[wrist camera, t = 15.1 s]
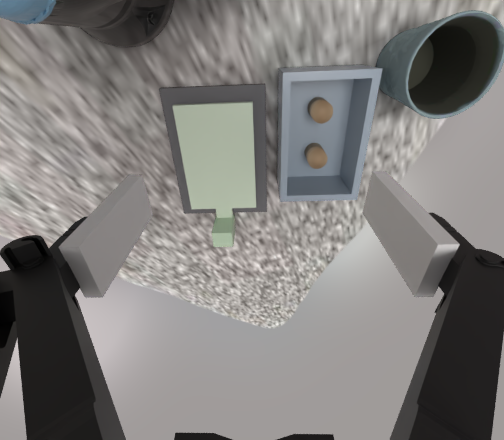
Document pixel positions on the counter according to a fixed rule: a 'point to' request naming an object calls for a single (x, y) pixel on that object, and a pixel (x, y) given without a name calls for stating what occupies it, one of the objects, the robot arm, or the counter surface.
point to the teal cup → (443, 63)
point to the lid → (218, 160)
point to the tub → (324, 130)
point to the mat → (219, 96)
